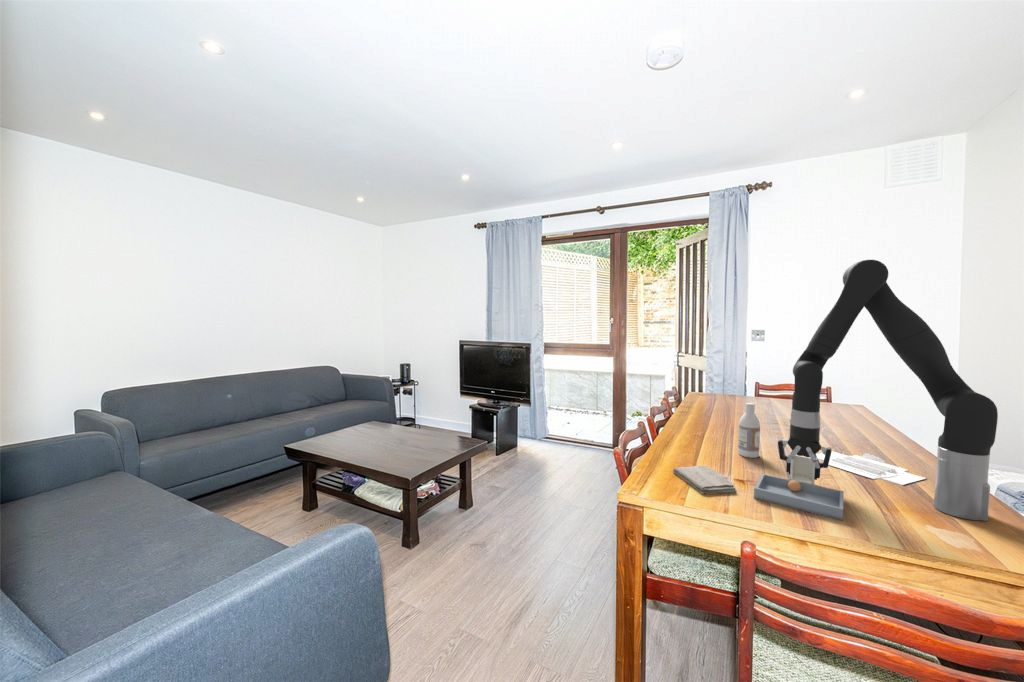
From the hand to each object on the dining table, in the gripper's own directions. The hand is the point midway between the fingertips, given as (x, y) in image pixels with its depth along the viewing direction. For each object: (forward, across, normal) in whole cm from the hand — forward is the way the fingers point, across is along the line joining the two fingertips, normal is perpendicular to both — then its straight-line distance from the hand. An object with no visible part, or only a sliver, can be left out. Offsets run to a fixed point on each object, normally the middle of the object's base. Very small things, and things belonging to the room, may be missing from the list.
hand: (802, 476), depth 125 cm
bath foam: (+3, +18, -19) cm, 26 cm away
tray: (+3, 0, +14) cm, 14 cm away
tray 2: (+3, -15, -31) cm, 35 cm away
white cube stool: (+1, 0, 0) cm, 1 cm away
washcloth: (+3, +25, +18) cm, 31 cm away
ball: (0, +1, +10) cm, 10 cm away
